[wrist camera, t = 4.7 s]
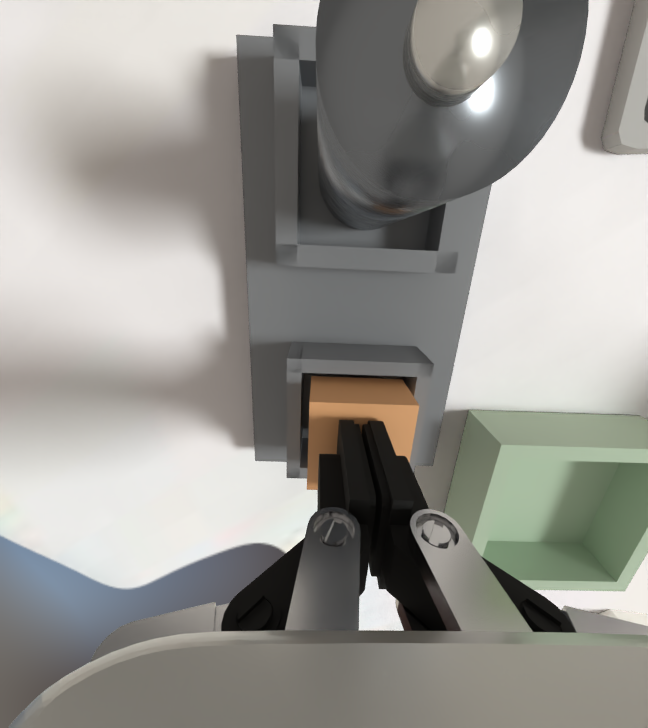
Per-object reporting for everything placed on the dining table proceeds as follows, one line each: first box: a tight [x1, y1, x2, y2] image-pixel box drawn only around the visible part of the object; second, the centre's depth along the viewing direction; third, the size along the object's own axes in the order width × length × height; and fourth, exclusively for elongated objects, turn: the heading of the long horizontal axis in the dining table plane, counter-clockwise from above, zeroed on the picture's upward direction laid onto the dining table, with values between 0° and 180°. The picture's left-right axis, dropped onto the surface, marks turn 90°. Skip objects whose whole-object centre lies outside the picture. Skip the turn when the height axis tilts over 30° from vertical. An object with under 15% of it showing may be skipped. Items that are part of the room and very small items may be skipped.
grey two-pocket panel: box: [236, 24, 492, 478], centre depth 13 cm, size 18×10×4 cm, turn 178°
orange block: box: [307, 376, 419, 490], centre depth 13 cm, size 4×4×2 cm
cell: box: [315, 0, 588, 230], centre depth 8 cm, size 4×4×9 cm
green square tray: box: [444, 410, 648, 591], centre depth 17 cm, size 10×10×3 cm
